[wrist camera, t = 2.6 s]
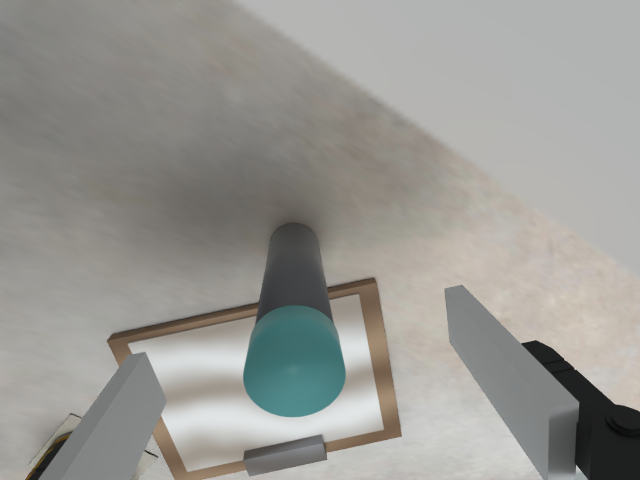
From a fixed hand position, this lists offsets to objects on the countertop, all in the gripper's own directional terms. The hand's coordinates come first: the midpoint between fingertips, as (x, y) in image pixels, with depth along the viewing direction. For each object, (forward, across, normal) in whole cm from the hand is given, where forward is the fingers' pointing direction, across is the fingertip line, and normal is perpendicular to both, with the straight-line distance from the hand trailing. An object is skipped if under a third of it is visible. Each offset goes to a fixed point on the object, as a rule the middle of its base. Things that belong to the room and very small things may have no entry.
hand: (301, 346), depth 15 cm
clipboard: (+12, -5, -12) cm, 17 cm away
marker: (+12, 0, 0) cm, 12 cm away
